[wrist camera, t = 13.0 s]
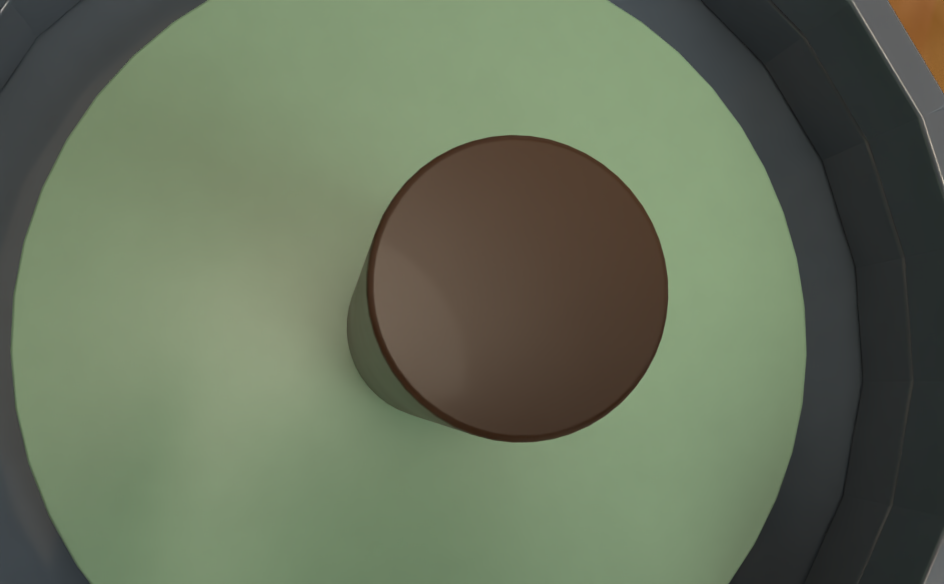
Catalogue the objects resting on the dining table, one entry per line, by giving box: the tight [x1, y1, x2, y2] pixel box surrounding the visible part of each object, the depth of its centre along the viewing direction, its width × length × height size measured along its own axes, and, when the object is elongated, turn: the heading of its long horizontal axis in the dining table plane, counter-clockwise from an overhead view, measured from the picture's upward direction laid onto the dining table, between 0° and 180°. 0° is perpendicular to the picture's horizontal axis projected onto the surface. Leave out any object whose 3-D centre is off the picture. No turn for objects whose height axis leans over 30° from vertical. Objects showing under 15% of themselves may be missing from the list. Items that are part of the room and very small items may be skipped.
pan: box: [0, 0, 944, 584], centre depth 14 cm, size 17×17×4 cm
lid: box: [10, 0, 807, 584], centre depth 12 cm, size 12×12×7 cm
